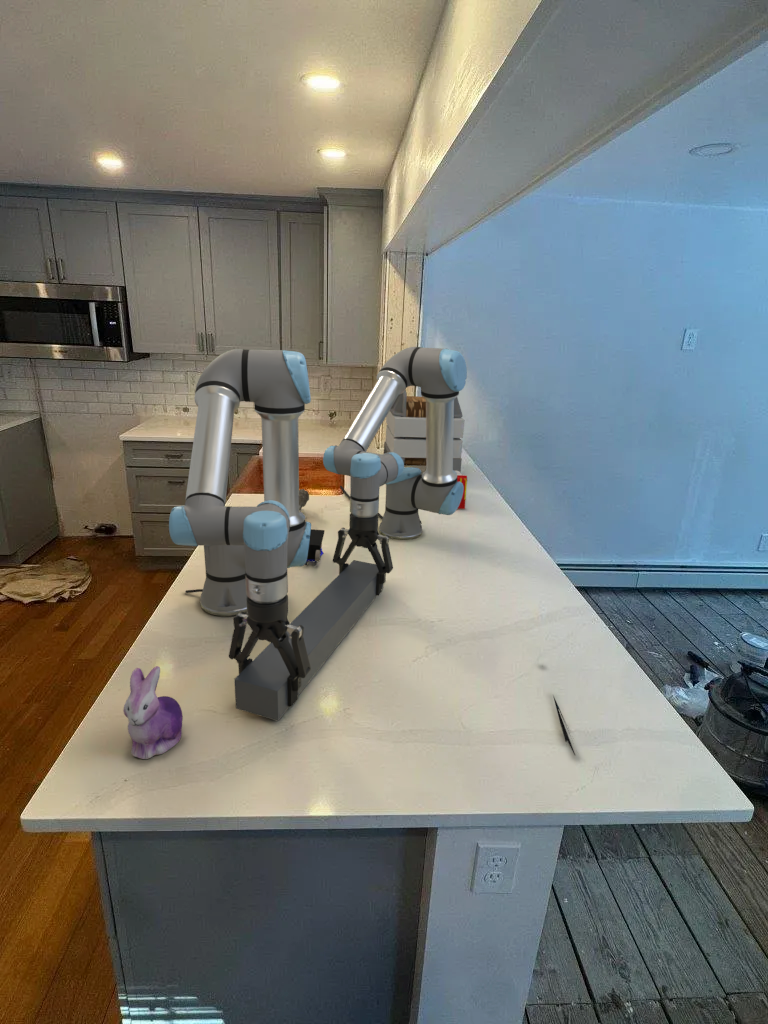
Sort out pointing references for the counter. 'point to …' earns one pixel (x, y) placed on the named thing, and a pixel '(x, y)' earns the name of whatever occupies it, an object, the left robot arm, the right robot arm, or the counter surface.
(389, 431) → the white slatted crate
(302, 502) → the fossil
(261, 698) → the thick board
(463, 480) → the red tall box
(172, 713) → the figurine
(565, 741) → the feather
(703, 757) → the counter surface
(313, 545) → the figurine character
